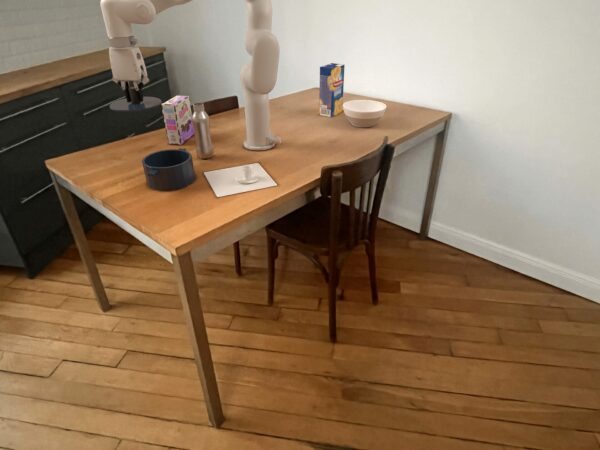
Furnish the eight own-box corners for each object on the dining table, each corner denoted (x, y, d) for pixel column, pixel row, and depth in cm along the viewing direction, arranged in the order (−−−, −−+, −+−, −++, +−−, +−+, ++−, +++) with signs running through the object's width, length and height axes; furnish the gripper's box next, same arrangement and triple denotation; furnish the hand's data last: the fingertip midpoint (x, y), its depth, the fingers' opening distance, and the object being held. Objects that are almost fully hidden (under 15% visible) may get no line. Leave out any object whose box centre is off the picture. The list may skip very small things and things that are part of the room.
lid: (170, 101, 143) (167, 83, 140) (145, 115, 129) (141, 95, 126) (128, 98, 146) (124, 81, 143) (99, 112, 133) (94, 92, 129)
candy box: (181, 145, 164) (174, 104, 155) (168, 144, 165) (160, 103, 156) (195, 133, 175) (189, 95, 166) (182, 133, 176) (176, 94, 167)
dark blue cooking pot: (206, 169, 143) (202, 148, 139) (177, 197, 126) (173, 173, 122) (166, 165, 147) (161, 144, 142) (133, 192, 129) (127, 169, 125)
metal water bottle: (217, 154, 155) (211, 102, 144) (208, 161, 149) (201, 107, 139) (203, 152, 157) (195, 100, 146) (193, 159, 151) (185, 105, 141)
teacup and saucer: (237, 186, 132) (236, 175, 130) (231, 177, 138) (229, 166, 136) (263, 181, 135) (262, 170, 132) (255, 172, 141) (254, 161, 139)
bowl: (365, 134, 173) (366, 114, 168) (332, 123, 185) (333, 105, 181) (393, 124, 183) (395, 105, 179) (361, 114, 196) (362, 97, 191)
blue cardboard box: (342, 111, 200) (344, 64, 189) (331, 117, 193) (332, 68, 181) (330, 109, 204) (331, 63, 192) (319, 114, 196) (319, 67, 184)
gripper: (152, 41, 129) (163, 100, 139) (106, 40, 132) (120, 97, 142) (139, 45, 123) (151, 106, 132) (91, 43, 126) (107, 103, 135)
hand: (135, 101), depth 137 cm, fingers closed on lid, 2 cm apart
